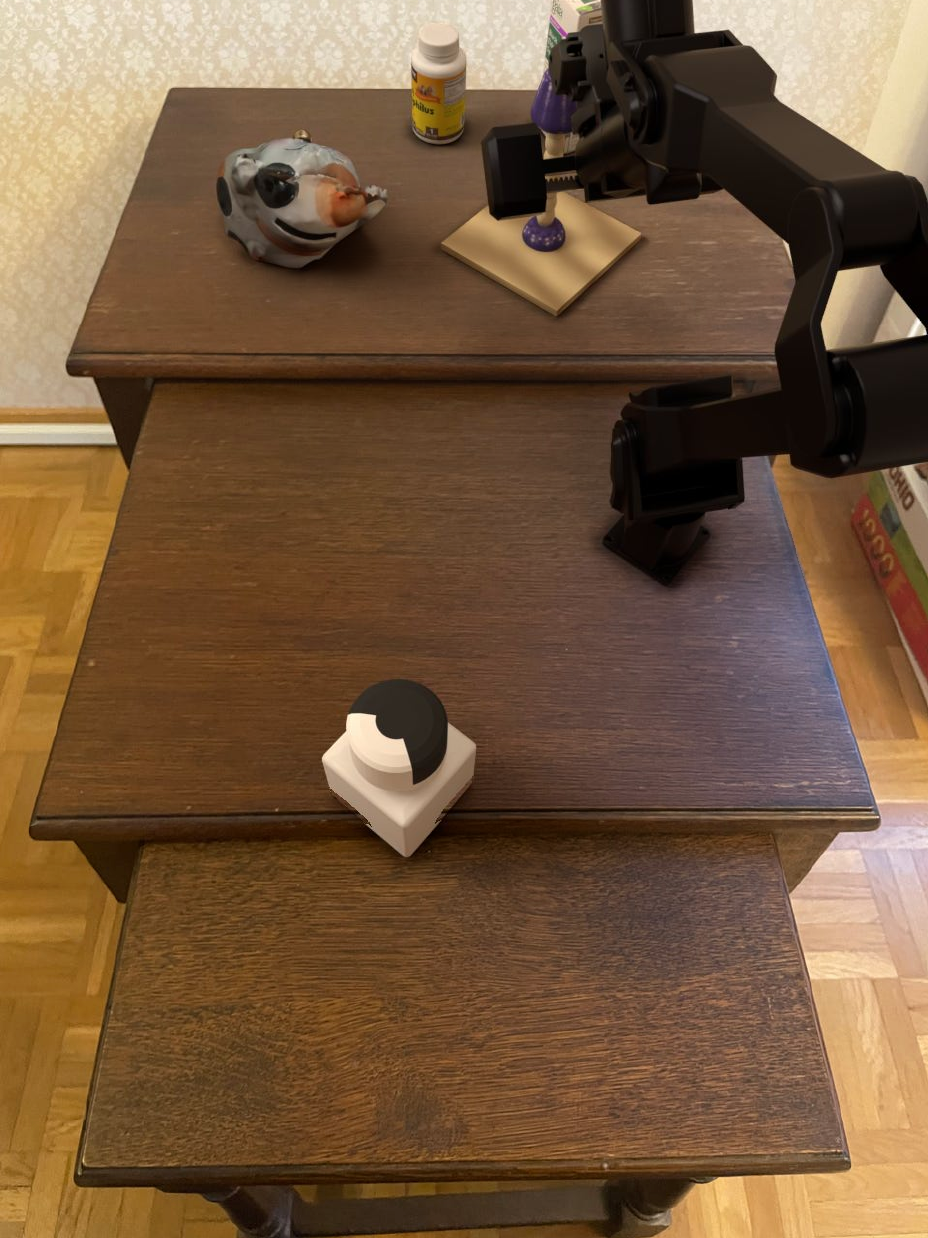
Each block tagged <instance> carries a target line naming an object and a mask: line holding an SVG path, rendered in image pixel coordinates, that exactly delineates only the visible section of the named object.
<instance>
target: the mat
mask: <svg viewBox="0 0 928 1238" xmlns="http://www.w3.org/2000/svg"><path fill="white" fill-rule="evenodd" d="M554 209H555V217H556V218H557V219H559V220H560V221H561V223H562V224H563V226H564V229H565V236H566V238H565V242H564V243H563V245H562V246H561V247H560V248H558V249H556V250H554V251H548V252H541V251H537V250H535V249H532V248H530V247H529V246H527V245H526V244H525V242H524V241H523V238H522V232H523V229H524V226H525V224H526V223H527V222H528V220H529V219H531V218H532V217H534V216H531V217H524V218H516V219H508V220H500V221H497V220H496V219H495V218H494V217H492V216H491V215H490V214H489V206H488V205H486V206H485V207H484V208H482V209H481V210H480V211H479V212H478V213H476V214H475V215H474V216H473V217H471V218H470V219H469V220H468V221H466V222H465V223H463V225H461V226H460V227H459V228H458V229H457V230H455V231H453V233H451V234H450V235H449V236H448V237H446V238H445V239H444V240H443V241H442V242H440V249H441V251H443V252H445V253H446V254H448V255H450V256H452V257H453V258H455V259H457V260H458V261H460V262H462V263H464V264H466V265H467V266H469V267H470V268H473V270H475V271H478V272H479V273H481V274H482V275H484V276H486V277H488V278H489V279H491V280H492V281H494V282H496V283H497V284H500V285H501V286H503V287H505V288H506V289H508V290H510V291H512V292H513V293H515V294H517V295H519V296H520V297H521V298H523V299H525V300H527V301H528V302H530V303H532V304H533V305H536V306H537V307H539V308H540V309H542V310H544V311H545V312H548V313H549V314H551V315H553V316H554V317H558V316H559V315H560V314H561V313H563V311H565V310H566V309H567V308H568V307H569V306H570V305H571V304H572V303H573V302H575V300H577V299H578V298H579V297H580V296H581V295H582V294H583V293H584V292H585V291H586V290H587V289H589V288H590V287H592V285H593V284H594V283H595V282H596V281H597V280H598V279H599V278H600V277H602V276H603V275H604V274H605V273H606V272H607V271H608V270H609V269H610V268H612V267H613V266H614V265H615V264H617V262H618V261H619V260H620V259H622V258H623V256H624V255H625V254H627V253H628V252H629V251H630V250H632V248H633V247H634V246H635V245H637V244H638V243H639V242H640V241H641V239H642V232H641V231H638V230H636V229H634V228H633V227H631V226H628V225H627V224H625V223H623V222H621V221H619V220H618V219H616V218H614V217H612V216H611V215H609V214H606V213H604V211H603V212H602V211H601V210H599V209H598V208H595V207H593V206H592V205H589V203H585V201H583V200H580V199H578V198H577V197H575V196H574V195H571V194H569V193H567V192H566V191H565V192H558V193H557V204H556V207H555V208H554Z"/></svg>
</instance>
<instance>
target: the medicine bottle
mask: <svg viewBox="0 0 928 1238" xmlns="http://www.w3.org/2000/svg"><path fill="white" fill-rule="evenodd" d="M447 714H448V713H447V710H446V709H445V706H444V704H443V702H442V701H441V699H440V698H439V697H438V695H437V694H436V693H435V692H434V691H432V690H431V689H430V688H429V687H427V686H426V685H423V684H422V683H420V682H417V681H414V680H410V679H406V678H405V679H403V678H393V679H392V678H391V679H386V680H382V681H379V682H376V683H374V684H372V685H370V686H369V687H367V688H366V689H365V690H363V691H362V692H361V693H360V694H359V695H358V696H357V697H356V699H355V700H353V703H352V704H351V707H350V708H349V711H348V714H347V717H346V724H345V729H346V731H345V732H343V734H342V735H341V736H340V737H339V738H337V740H336V741H335V742H334V743H333V744H332V745H331V746H330V748H328V749H327V750H326V752H325V753H324V754H323V755H322V757H321V762H322V765H323V769H324V774H325V776H326V780H327V784H328V787H330V788H329V790H330V789H332V790H333V791H334V792H335V793H337V794H338V795H339V796H340V797H342V798H343V799H344V800H346V801H347V802H348V803H349V804H350V805H351V806H352V807H354V808H355V809H356V810H357V811H358V812H359V813H360V814H361V815H363V816H364V817H365V818H366V819H367V820H368V822H370V824H371V826H372V827H371V826H370V825H369V824H365V825H366V826H367V827H368V828H369V829H370V830H372V831H373V832H374V833H375V834H376V835H377V836H379V837H380V839H382V840H384V841H385V842H386V843H387V844H388V845H389V846H390V847H392V848H393V849H394V850H395V851H397V852H398V853H399V854H400V855H401V856H403V857H405V858H410V857H411V856H412V854H414V852H415V851H416V850H417V849H418V848H419V847H420V845H421V844H422V843H423V842H424V841H425V840H426V839H427V837H428V836H429V835H430V834H431V833H432V831H434V830H435V828H436V827H437V826H438V825H439V823H440V822H442V820H440V821H438V822H437V823H436V824H435V822H436V820H437V818H438V817H439V815H440V814H441V812H442V811H443V809H444V808H445V807H446V806H447V805H448V804H449V802H450V801H451V800H452V799H453V798H454V797H455V796H456V794H457V793H458V792H459V791H460V790H461V789H462V788H463V787H464V786H465V784H466V783H467V782H468V781H469V780H470V779H471V778H472V776H473V777H474V774H475V763H476V755H477V745H476V743H475V742H474V741H473V740H471V738H469V737H468V736H466V734H464V733H462V732H461V731H460V730H459V729H457V728H456V727H455V726H453V724H451V723H450V722H449V720H448V719H449V718H448V715H447Z"/></svg>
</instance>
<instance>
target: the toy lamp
mask: <svg viewBox="0 0 928 1238" xmlns="http://www.w3.org/2000/svg"><path fill="white" fill-rule="evenodd" d="M542 76H543V77H542ZM542 76H541V80H540V83H539V85H538V88H537V90H536V93H535V96H534V98H533V101H532V104H531V107H530V119H531V121H532V123H536V124H537V126H538V128H539V130H540V131H541V130H543V131H544V132H547V133H548V135H547V137H546V136H545V141H544V147H545V151H544V152H543V159H550V158H559V157H564V154H563V151H562V150H563V149H564V146H565V136H564V135H565V134H567V133H571V132H572V125H571V116H572V115H573V114H574V113H575V112H577V102H570V100H569V97H568V96H567V95H558V96H557V95H555V93H554V92H553V87H552V82H551V77H550V73H549V68H548V69H547V70H546V71H545V73H544V75H543V74H542ZM560 177H562V175H554V176H546V177H545V179H547V180H548V182H549V179H550V178H552V179H553V182H554V179H555V178H557V179H558V181H559V178H560ZM557 193H558V192H557ZM557 193H549V194H547V203H546V212H545V213H543V214H541V215H536V216H534V217H532V218H531V219H529V220H528V222H527V223H526V224H525V226H524V229H523V232H522V238H523V241H524V242H525V244H526V245H527V246H529V247H530V248H532V249H535V250H537V251H541V252H548V251H554V250H556V249H558V248H560V247H561V246H562V245H563V243H564V242H565V238H566V236H565V229H564V226H563V224H562V223H561V221H560V220H559V219H557V218H556V217H555V209H554V208H555V207H556V204H557Z"/></svg>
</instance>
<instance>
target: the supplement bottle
mask: <svg viewBox="0 0 928 1238" xmlns="http://www.w3.org/2000/svg"><path fill="white" fill-rule="evenodd" d="M410 56H411V57H410V70H411V71H410V74H411V76H410V77H411V78H410V79H411V125H412V131H413V132H414V134H415V136H417V137H418V138H419V139H420V140H421V141H423V142H425V143H428V144H433V145H445V144H450V143H452V142H454V141H456V140H457V139H460V137H461V136H462V135H463V132H464V130H465V119H466V94H467V93H466V91H467V90H466V89H467V55H466V52H465V51H464V50H463V48H462V47H461V46H460V33H459V30H457V28H456V27H454V26H453V25H451V24H448V23H445V22H432V23H428V24H425V25H424V26H422V27H421V28H420V29H419V32H418V43H417V46H416V47H415V48H414V49H413V51H412V52H411V55H410Z"/></svg>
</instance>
